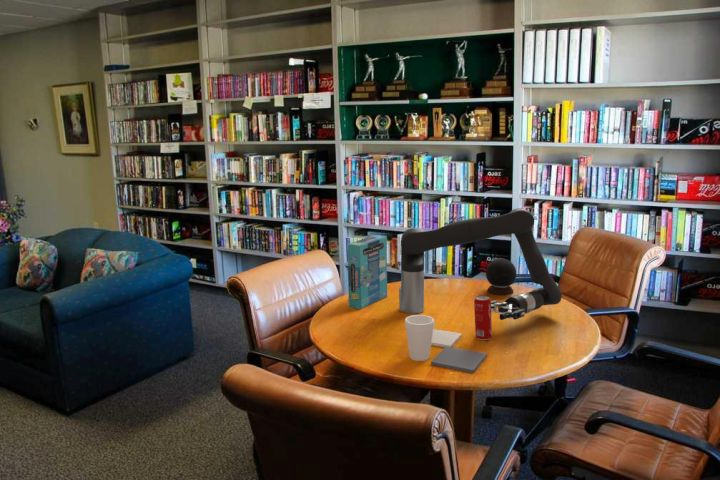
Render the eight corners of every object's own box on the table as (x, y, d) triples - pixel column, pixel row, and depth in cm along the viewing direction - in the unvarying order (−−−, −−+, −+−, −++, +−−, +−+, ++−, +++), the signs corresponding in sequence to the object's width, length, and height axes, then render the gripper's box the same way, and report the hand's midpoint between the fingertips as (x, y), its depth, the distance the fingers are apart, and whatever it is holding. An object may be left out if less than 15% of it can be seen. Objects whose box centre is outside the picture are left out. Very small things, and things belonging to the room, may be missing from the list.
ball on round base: (482, 294, 257) (483, 261, 254) (488, 285, 269) (489, 254, 266) (513, 297, 252) (514, 263, 249) (517, 288, 264) (518, 256, 261)
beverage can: (492, 341, 205) (493, 300, 202) (473, 340, 206) (474, 299, 203) (491, 335, 211) (493, 295, 208) (473, 334, 212) (474, 294, 209)
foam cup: (403, 352, 198) (403, 315, 195) (430, 350, 198) (430, 314, 196) (407, 363, 188) (407, 325, 186) (436, 362, 189) (436, 324, 186)
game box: (375, 294, 260) (375, 234, 254) (387, 296, 256) (387, 236, 250) (348, 307, 244) (346, 243, 238) (360, 309, 240) (359, 245, 234)
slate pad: (431, 364, 188) (431, 361, 187) (446, 348, 200) (446, 346, 199) (473, 373, 181) (473, 370, 181) (486, 356, 193) (486, 353, 193)
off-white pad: (417, 342, 206) (417, 339, 205) (430, 331, 216) (430, 328, 216) (450, 348, 200) (450, 345, 200) (461, 336, 210) (461, 333, 210)
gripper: (505, 290, 224) (476, 299, 214) (536, 299, 212) (507, 309, 203) (504, 309, 225) (475, 318, 216) (535, 319, 214) (506, 329, 205)
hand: (491, 313), depth 209 cm, fingers open, 8 cm apart
